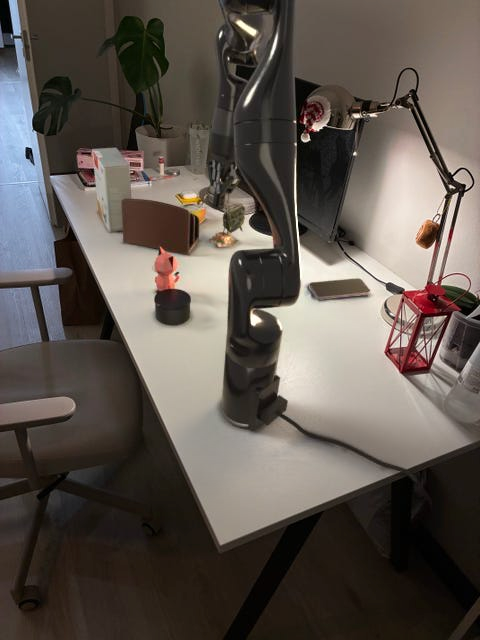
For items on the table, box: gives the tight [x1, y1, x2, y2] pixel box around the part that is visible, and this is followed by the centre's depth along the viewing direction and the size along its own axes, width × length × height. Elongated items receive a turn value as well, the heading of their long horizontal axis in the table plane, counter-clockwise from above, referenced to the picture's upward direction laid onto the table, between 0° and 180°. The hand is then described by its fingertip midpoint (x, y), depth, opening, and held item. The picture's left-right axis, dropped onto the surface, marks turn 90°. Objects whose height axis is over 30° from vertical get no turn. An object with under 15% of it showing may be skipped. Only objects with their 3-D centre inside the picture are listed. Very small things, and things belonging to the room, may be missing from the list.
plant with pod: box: [208, 194, 246, 248], centre depth 144 cm, size 8×11×20 cm
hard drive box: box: [91, 147, 133, 233], centre depth 150 cm, size 16×8×20 cm, turn 25°
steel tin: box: [153, 288, 192, 326], centre depth 116 cm, size 8×8×5 cm
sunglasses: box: [182, 203, 207, 225], centre depth 161 cm, size 14×15×5 cm
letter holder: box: [121, 198, 200, 256], centre depth 143 cm, size 10×20×14 cm, turn 76°
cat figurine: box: [153, 246, 180, 294], centre depth 121 cm, size 7×7×12 cm
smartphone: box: [308, 277, 371, 300], centre depth 132 cm, size 7×1×15 cm
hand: (217, 208), depth 117 cm, fingers closed
